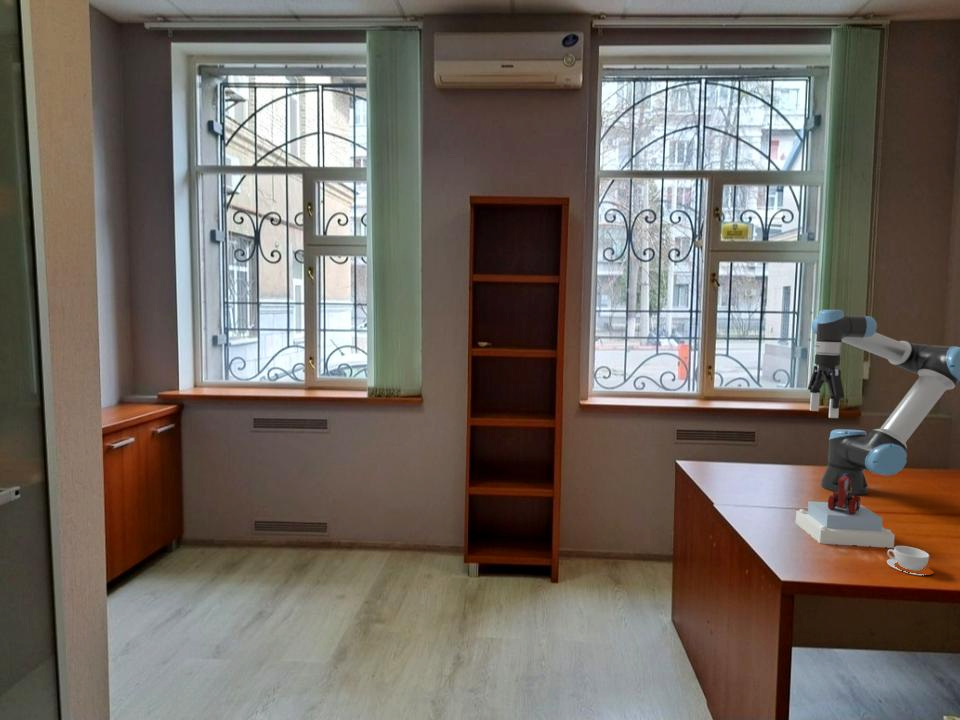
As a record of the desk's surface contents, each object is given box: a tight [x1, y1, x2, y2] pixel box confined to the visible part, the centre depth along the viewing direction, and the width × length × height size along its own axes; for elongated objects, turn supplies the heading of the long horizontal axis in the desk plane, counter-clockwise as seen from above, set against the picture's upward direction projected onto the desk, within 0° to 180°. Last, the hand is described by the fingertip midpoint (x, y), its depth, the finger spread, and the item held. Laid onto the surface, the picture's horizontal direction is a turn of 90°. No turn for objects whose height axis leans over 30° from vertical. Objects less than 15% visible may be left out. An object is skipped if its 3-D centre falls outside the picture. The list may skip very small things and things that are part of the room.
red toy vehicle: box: [827, 473, 861, 514], centre depth 169 cm, size 7×12×10 cm, turn 137°
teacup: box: [886, 545, 930, 577], centre depth 148 cm, size 10×10×5 cm
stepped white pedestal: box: [795, 500, 896, 549], centre depth 170 cm, size 20×16×8 cm
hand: (823, 414), depth 197 cm, fingers open, 13 cm apart
